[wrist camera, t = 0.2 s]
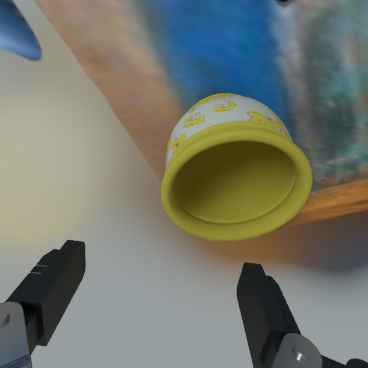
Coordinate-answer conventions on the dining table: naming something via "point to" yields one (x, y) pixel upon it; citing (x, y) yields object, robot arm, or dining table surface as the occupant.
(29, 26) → the dining table surface
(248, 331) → the robot arm
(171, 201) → the flowerpot
